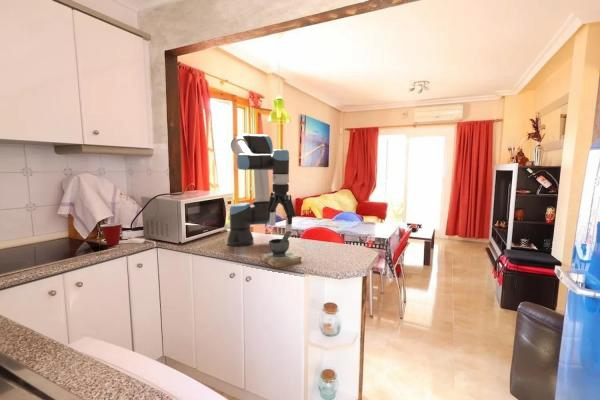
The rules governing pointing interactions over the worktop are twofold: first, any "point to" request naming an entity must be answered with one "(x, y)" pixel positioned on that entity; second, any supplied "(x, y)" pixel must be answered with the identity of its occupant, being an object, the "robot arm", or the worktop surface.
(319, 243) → the worktop surface
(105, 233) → the plastic cup
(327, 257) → the worktop surface
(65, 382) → the worktop surface
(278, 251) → the mortar and pestle
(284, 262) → the beige flat pad
